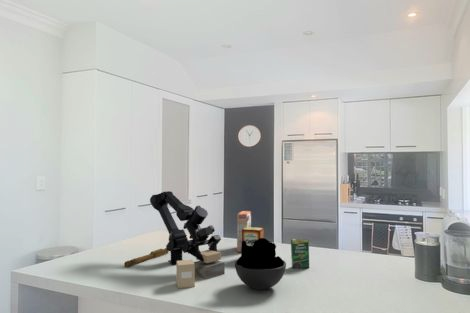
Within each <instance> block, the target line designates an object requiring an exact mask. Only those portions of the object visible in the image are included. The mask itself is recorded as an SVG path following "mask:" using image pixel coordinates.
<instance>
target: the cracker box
mask: <svg viewBox="0 0 470 313" xmlns="http://www.w3.org/2000/svg"><path fill="white" fill-rule="evenodd" d="M236 222H237V223H236V225H237V226H236V227H237V228H236V230H237V231H236V232H237V234H236V240H237V241H236V245H237V246H236V252H237V253H242V252H241V247H242V229H243V228H245V227H252V211H250V210H242V211H240V212H238V213H237V221H236Z"/></svg>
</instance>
